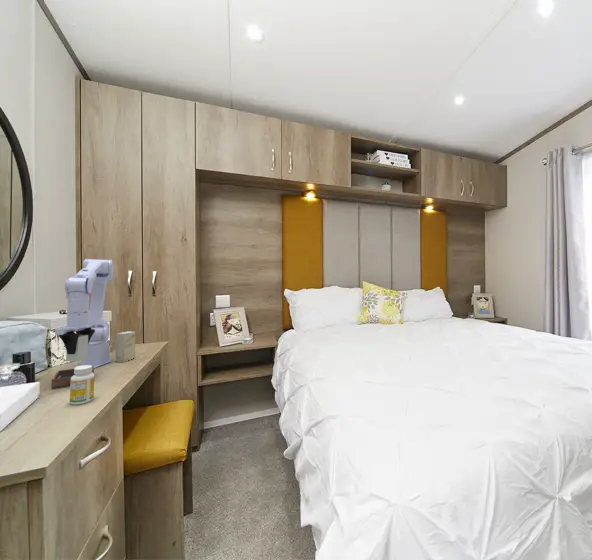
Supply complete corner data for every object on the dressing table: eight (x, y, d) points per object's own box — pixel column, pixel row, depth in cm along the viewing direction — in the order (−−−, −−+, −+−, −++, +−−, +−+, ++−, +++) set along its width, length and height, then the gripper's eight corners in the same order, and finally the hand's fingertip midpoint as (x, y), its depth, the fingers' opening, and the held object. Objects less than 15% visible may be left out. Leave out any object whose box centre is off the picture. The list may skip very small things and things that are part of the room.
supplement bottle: (76, 406, 71) (77, 371, 71) (65, 403, 73) (66, 368, 74) (98, 398, 76) (99, 365, 76) (87, 395, 78) (87, 363, 79)
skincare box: (123, 362, 111) (124, 333, 111) (114, 361, 112) (115, 333, 112) (135, 358, 117) (136, 331, 117) (127, 357, 118) (127, 330, 118)
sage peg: (76, 357, 92) (77, 334, 92) (87, 357, 92) (88, 334, 92) (66, 360, 88) (66, 336, 88) (77, 361, 88) (78, 337, 88)
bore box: (57, 379, 91) (57, 370, 91) (93, 374, 96) (93, 366, 96) (51, 389, 82) (51, 379, 83) (91, 382, 88) (91, 373, 88)
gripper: (70, 315, 83) (69, 358, 82) (105, 310, 97) (104, 347, 97) (49, 314, 83) (47, 357, 83) (87, 310, 97) (86, 346, 97)
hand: (77, 352), depth 90 cm, fingers closed on sage peg, 4 cm apart
